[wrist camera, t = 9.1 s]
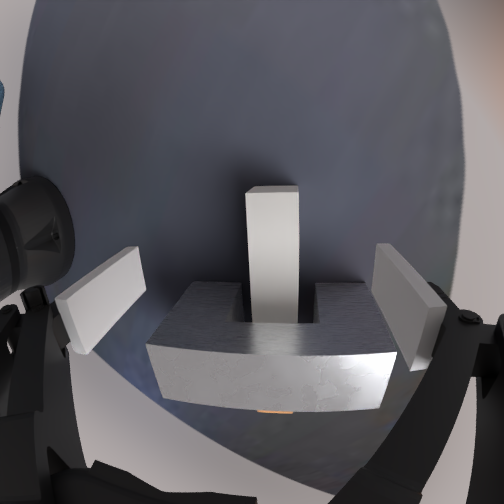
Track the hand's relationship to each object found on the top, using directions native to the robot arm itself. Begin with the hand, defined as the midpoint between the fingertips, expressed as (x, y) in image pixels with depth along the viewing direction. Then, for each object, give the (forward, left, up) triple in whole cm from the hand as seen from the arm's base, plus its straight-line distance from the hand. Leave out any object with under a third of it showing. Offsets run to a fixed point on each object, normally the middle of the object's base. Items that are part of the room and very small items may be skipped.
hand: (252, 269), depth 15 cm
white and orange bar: (-6, -7, -13) cm, 16 cm away
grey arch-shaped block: (-6, -7, -13) cm, 16 cm away
